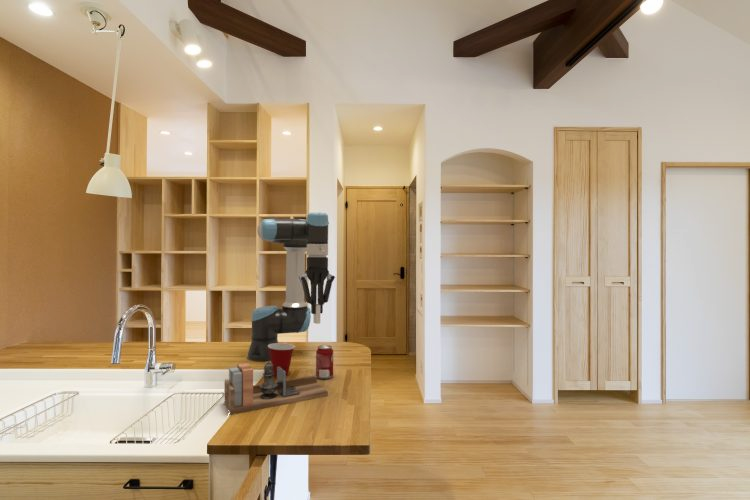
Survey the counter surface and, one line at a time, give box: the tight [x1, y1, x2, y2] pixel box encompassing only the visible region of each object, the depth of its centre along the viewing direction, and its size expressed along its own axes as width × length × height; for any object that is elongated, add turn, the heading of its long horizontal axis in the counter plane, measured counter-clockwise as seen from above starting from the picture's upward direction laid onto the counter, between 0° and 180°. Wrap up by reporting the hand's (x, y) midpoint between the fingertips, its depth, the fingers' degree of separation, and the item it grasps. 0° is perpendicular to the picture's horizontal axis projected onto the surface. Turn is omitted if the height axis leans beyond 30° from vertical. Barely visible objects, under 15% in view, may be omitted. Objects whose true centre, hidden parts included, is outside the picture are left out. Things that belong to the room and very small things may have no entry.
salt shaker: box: [259, 361, 278, 399], centre depth 132 cm, size 6×6×12 cm
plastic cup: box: [268, 342, 296, 378], centre depth 159 cm, size 11×11×12 cm
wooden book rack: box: [223, 361, 329, 415], centre depth 134 cm, size 11×32×12 cm, turn 121°
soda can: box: [315, 344, 334, 380], centre depth 157 cm, size 7×7×12 cm
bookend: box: [276, 367, 300, 396], centre depth 136 cm, size 7×6×8 cm
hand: (316, 322), depth 141 cm, fingers closed
